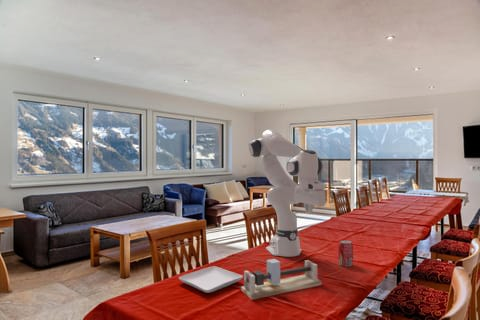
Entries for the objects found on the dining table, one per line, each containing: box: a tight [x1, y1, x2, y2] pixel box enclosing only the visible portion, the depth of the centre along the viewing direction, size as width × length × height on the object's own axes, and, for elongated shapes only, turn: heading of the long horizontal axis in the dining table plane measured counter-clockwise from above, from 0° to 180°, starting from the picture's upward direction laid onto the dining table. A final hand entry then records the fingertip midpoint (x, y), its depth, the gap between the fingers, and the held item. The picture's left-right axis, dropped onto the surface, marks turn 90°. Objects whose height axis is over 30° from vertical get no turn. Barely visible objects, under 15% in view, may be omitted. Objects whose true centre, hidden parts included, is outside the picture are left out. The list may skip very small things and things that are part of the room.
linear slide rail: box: [240, 259, 323, 301], centre depth 139 cm, size 10×34×8 cm, turn 114°
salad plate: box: [178, 265, 244, 294], centre depth 145 cm, size 21×21×3 cm
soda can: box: [338, 239, 354, 268], centre depth 166 cm, size 7×7×12 cm
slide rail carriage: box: [266, 258, 281, 285], centre depth 137 cm, size 4×4×9 cm
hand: (308, 213), depth 154 cm, fingers closed
